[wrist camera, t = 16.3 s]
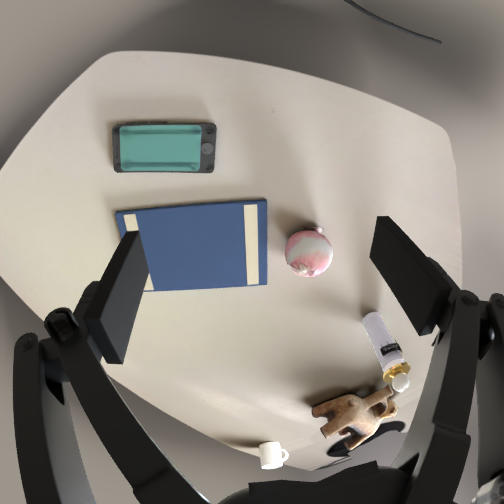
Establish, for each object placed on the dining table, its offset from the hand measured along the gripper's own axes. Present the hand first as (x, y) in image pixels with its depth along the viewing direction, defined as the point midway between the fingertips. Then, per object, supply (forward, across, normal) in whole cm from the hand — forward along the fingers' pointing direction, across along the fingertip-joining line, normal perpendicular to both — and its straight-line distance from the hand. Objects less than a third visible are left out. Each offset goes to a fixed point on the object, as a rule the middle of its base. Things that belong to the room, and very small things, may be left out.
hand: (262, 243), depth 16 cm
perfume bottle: (+29, +27, -38) cm, 55 cm away
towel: (+29, -8, -18) cm, 35 cm away
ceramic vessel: (+29, +35, -81) cm, 93 cm away
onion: (+29, +10, -18) cm, 35 cm away
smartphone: (+29, -11, 0) cm, 31 cm away
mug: (+29, +7, -108) cm, 112 cm away
